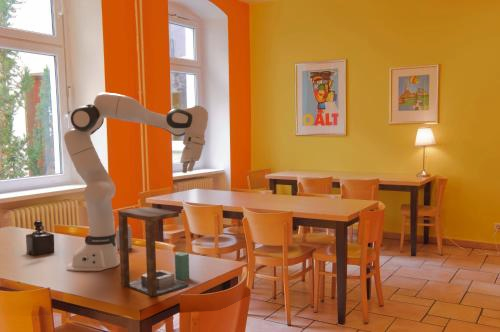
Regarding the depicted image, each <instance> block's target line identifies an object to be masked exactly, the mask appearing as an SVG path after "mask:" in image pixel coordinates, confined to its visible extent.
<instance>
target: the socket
mask: <svg viewBox="0 0 500 332" xmlns="http://www.w3.org/2000/svg"><path fill="white" fill-rule="evenodd" d="M156 281H157V294H156V295H153V296H152V297H153V298H156V297H159V296H162V295H164V294H168V293H171V292H174V291H175V292H176V291H178V290H181V289H184V288H187V287H189V284H188V283H185V282H183V281H181V280H178V279H176V278H175V273H174V272H170V271H167V270H164V269H161V270H157V269H156ZM123 286H124V287H127V288H130V289H132V290H135V291H138V292H140V293H141V294H145V295H147V296H149V295H148V292H147V272H146V273H143V274H142V275H140V278H139V279H135V280H131V281H130V284H128V285H123Z"/></svg>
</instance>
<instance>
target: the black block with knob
mask: <svg viewBox="0 0 500 332" xmlns="http://www.w3.org/2000/svg"><path fill="white" fill-rule="evenodd" d="M33 226H34V227H35V228H34V230H35V231H32V233H28V234H26V235H25V242H26V244H25V245H26V254H28V255H29V256H34V257H37V256H38V257H39V256H43V255H48V254H53V253H55V235H54V233H51V232H47V231H45V226H43V222H42V221H41V219H40V220H39V219H38V220H35V221H34V222H33Z"/></svg>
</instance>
